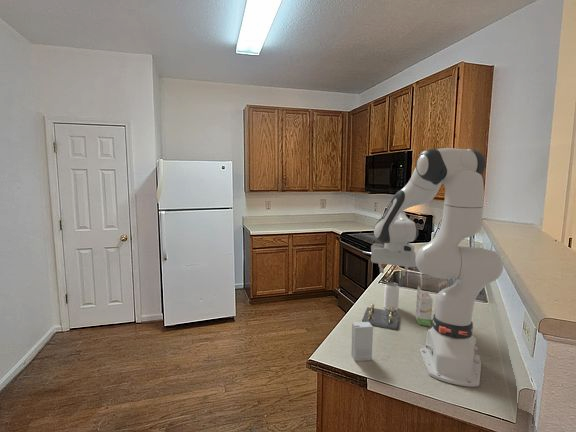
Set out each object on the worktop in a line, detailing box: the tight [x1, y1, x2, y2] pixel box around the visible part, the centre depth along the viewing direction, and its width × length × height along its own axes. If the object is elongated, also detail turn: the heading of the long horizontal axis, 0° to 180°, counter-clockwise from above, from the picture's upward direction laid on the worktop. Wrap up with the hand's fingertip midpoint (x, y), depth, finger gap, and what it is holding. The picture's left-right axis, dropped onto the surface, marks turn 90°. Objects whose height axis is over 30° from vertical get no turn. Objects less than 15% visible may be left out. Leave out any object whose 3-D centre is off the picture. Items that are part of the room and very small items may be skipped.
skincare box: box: [351, 321, 374, 362], centre depth 109 cm, size 6×4×12 cm
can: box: [383, 281, 400, 312], centre depth 152 cm, size 6×6×12 cm
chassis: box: [361, 303, 400, 331], centre depth 140 cm, size 15×14×4 cm
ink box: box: [415, 285, 434, 327], centre depth 138 cm, size 9×5×15 cm, turn 168°
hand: (392, 273), depth 151 cm, fingers open, 8 cm apart
